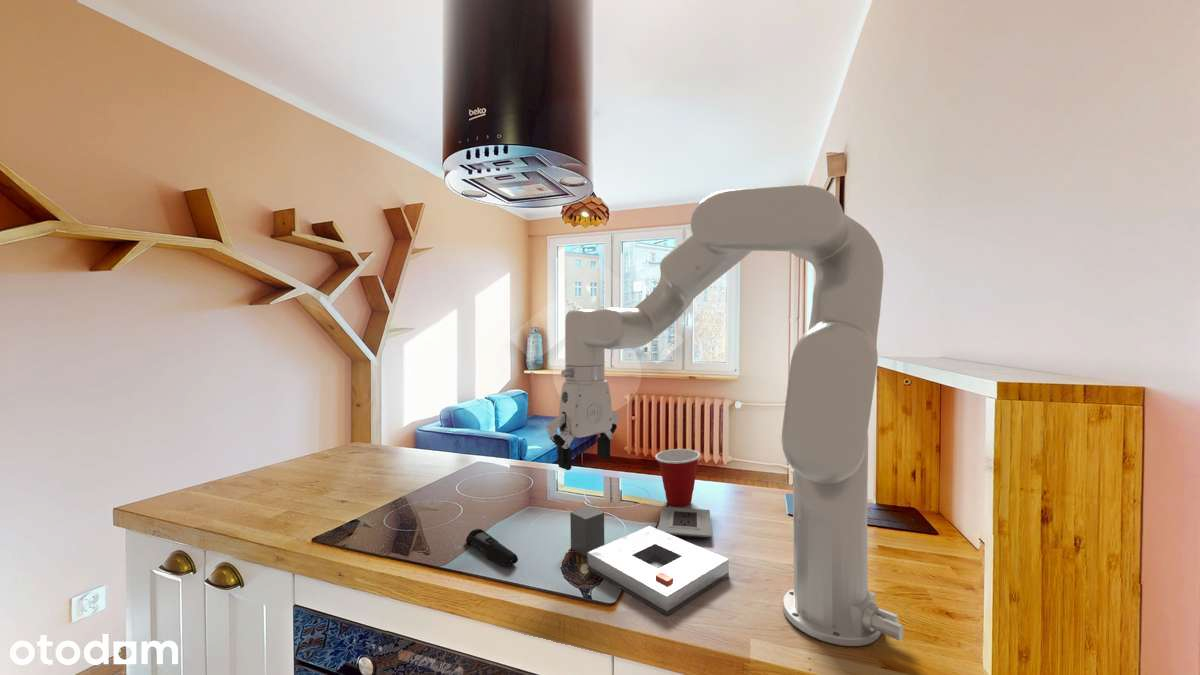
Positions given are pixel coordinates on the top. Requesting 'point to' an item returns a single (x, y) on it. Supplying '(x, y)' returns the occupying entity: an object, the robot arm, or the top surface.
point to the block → (586, 529)
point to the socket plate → (658, 568)
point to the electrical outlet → (686, 522)
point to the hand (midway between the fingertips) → (584, 463)
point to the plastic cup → (678, 474)
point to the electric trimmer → (491, 547)
